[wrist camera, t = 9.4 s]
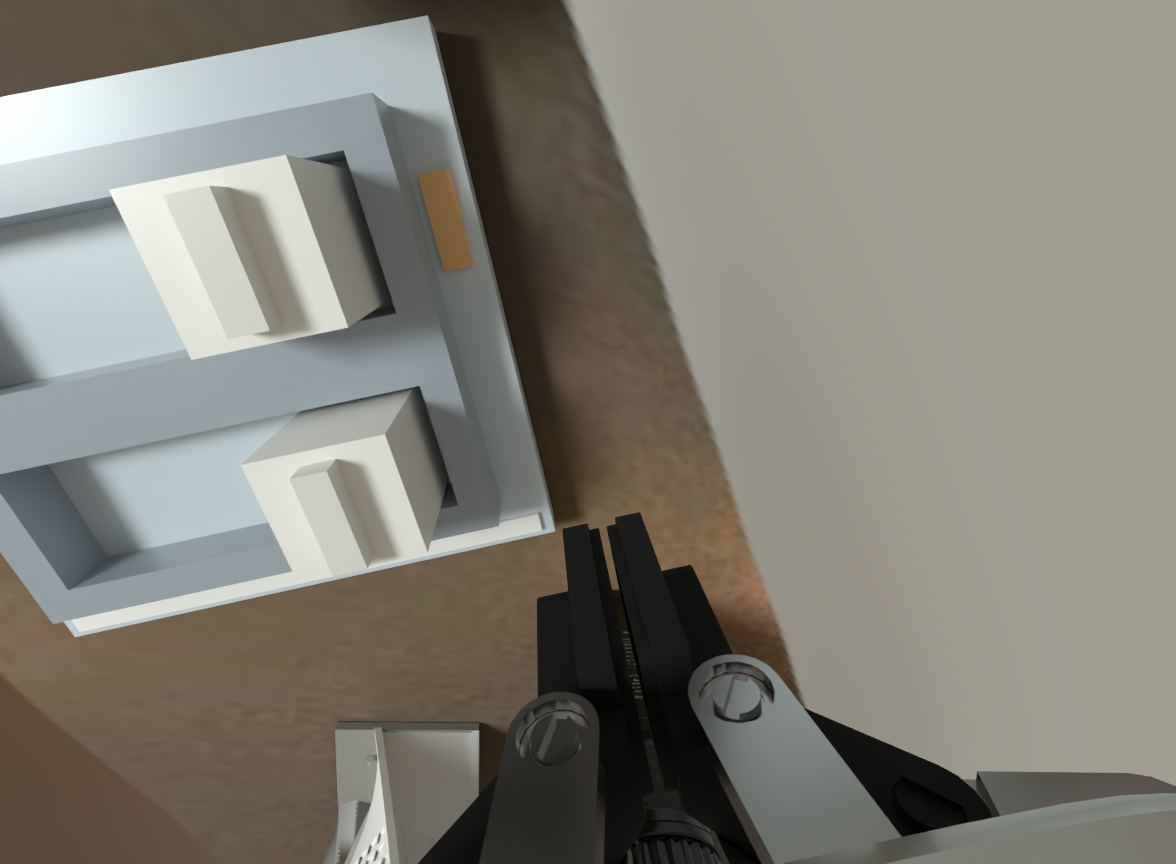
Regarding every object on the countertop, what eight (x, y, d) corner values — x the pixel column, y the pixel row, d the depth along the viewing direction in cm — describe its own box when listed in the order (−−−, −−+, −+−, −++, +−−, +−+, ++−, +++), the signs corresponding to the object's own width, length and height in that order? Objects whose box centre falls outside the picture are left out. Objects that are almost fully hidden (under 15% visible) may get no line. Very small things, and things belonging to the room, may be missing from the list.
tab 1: (221, 194, 17) (81, 188, 12) (350, 169, 17) (270, 151, 12) (274, 322, 18) (172, 368, 13) (391, 298, 19) (338, 334, 13)
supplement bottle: (662, 694, 29) (746, 989, 18) (533, 695, 28) (538, 1008, 17) (683, 588, 27) (795, 856, 16) (542, 586, 26) (556, 869, 15)
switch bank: (-210, 155, 17) (-385, 142, 14) (435, 30, 17) (415, -11, 14) (101, 612, 24) (35, 675, 21) (553, 513, 24) (558, 559, 21)
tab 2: (306, 405, 20) (226, 478, 14) (417, 381, 20) (377, 445, 14) (346, 500, 21) (286, 599, 16) (448, 478, 21) (423, 568, 16)
